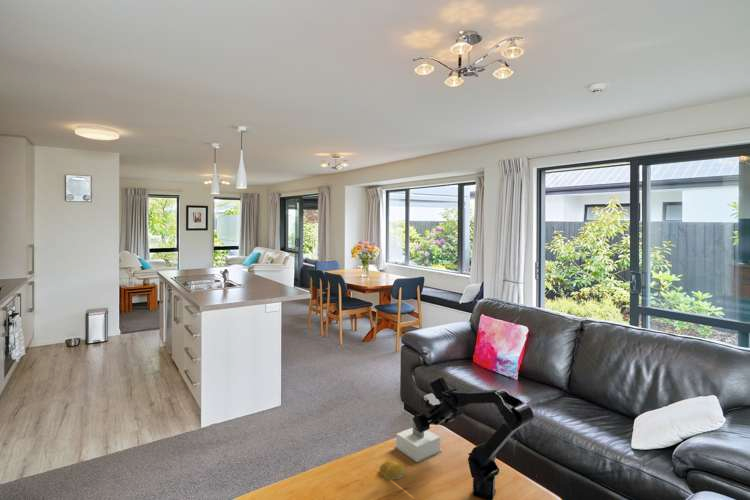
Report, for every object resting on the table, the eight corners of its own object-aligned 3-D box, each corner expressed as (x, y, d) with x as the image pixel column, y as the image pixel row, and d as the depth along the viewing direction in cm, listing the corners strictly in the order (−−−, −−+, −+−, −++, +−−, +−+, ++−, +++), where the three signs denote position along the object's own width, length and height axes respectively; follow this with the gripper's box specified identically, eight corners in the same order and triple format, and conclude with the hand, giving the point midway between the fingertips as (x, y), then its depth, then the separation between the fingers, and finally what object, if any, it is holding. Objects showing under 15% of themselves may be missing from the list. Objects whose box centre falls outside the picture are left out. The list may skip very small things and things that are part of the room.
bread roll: (392, 484, 144) (392, 473, 143) (376, 472, 150) (376, 462, 150) (409, 475, 149) (409, 464, 149) (392, 464, 156) (392, 454, 156)
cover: (439, 451, 164) (440, 424, 164) (417, 461, 157) (417, 433, 156) (418, 438, 174) (419, 412, 174) (396, 447, 167) (396, 420, 166)
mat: (442, 452, 164) (442, 451, 164) (416, 464, 156) (416, 463, 156) (418, 438, 175) (418, 437, 175) (393, 448, 167) (394, 447, 167)
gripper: (450, 384, 163) (430, 401, 172) (416, 395, 151) (397, 413, 161) (465, 411, 157) (444, 427, 166) (430, 424, 146) (410, 441, 155)
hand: (424, 426), depth 162 cm, fingers open, 9 cm apart
